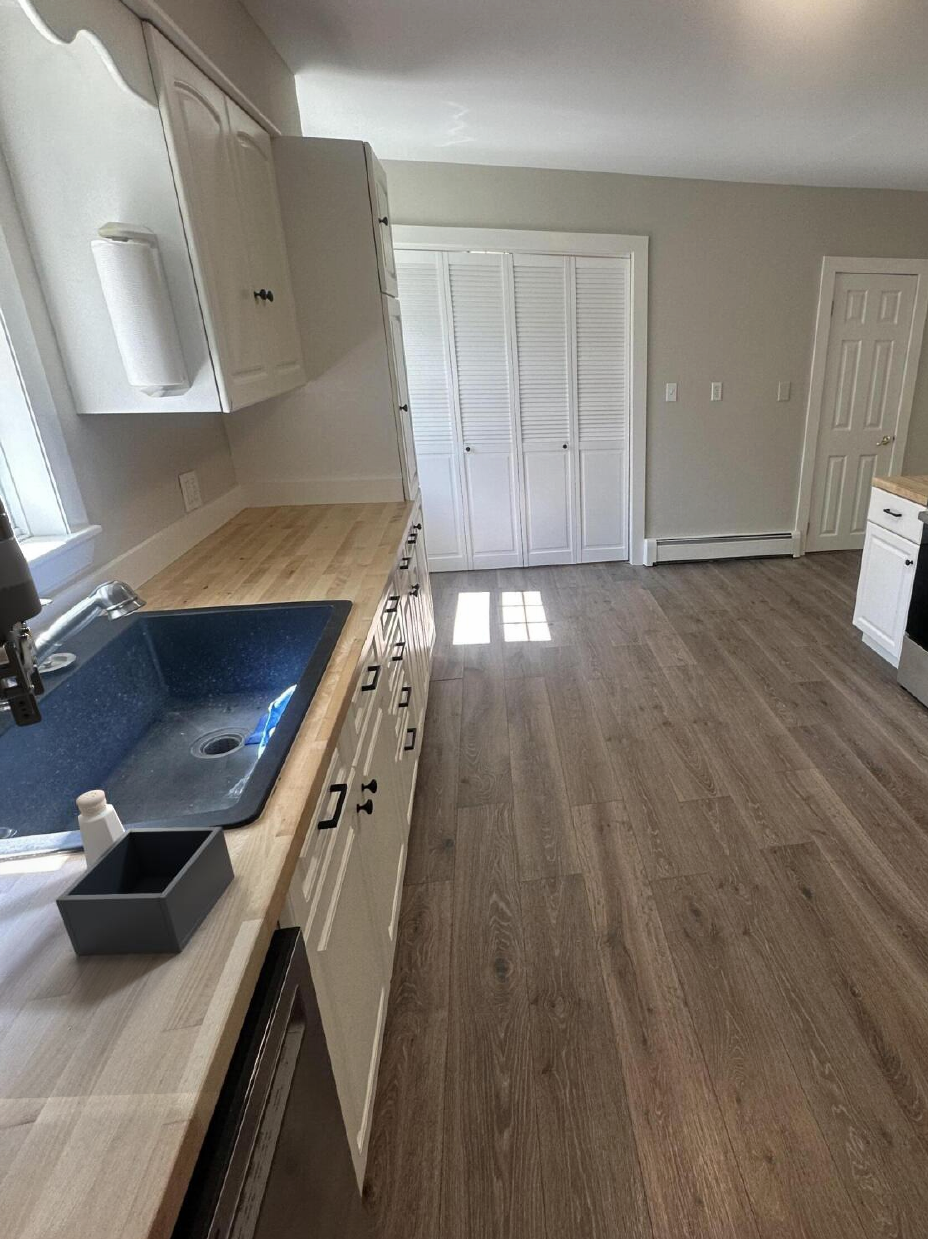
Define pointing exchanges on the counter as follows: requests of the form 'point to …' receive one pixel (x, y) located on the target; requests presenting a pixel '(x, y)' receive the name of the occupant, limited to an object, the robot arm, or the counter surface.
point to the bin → (147, 891)
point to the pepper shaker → (97, 824)
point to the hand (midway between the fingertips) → (32, 708)
